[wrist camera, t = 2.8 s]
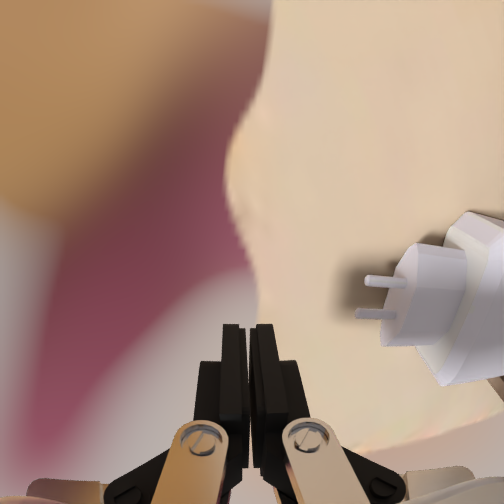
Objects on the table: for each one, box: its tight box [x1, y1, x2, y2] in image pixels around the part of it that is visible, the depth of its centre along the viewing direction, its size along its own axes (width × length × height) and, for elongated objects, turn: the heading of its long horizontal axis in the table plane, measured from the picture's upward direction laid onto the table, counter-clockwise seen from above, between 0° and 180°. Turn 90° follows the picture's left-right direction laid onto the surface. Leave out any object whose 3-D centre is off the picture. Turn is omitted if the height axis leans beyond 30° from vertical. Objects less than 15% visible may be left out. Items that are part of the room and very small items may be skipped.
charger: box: [355, 212, 504, 386], centre depth 14 cm, size 5×9×15 cm
